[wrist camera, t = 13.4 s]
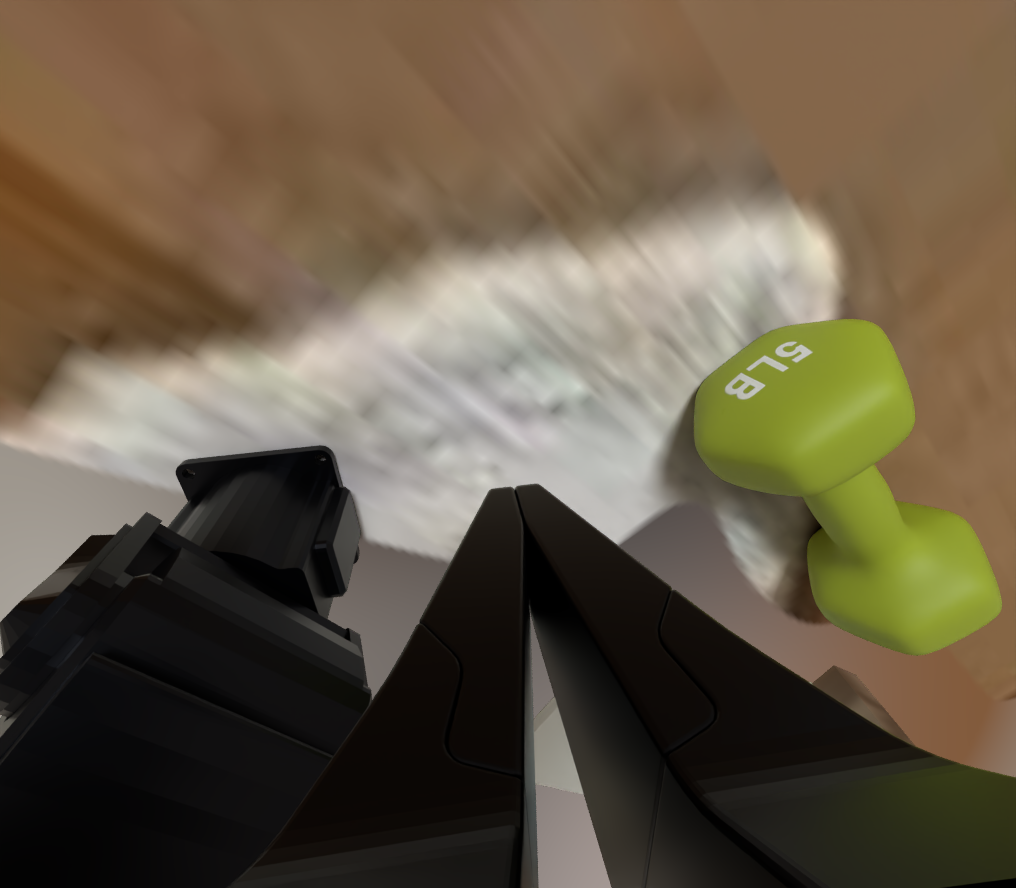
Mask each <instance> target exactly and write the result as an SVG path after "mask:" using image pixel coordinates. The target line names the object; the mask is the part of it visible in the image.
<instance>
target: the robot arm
mask: <svg viewBox="0 0 1016 888" xmlns="http://www.w3.org/2000/svg"><path fill="white" fill-rule="evenodd" d="M317 455H323V456H324V457H325V458H326V460H324V461H323V460H319V459H318V458H317V457H316V456H317ZM187 469H190V470H192V471H193V472H194V473H195V474H190V473H188V471H187ZM176 476H177V478H178V480H179V482H180V485H181V487H182V489H183V491H184V493H185V496H186V498H187V500H188V502H187V504H186V505H185V506H184V507H183V509H182V510H181V511H180V513H179V514H178V515H177V516H176V517H175V519H174V520H173V521H172V522H171V524H170V525H169V526H168V527H165V526H163V525H162V524H160V523H161V522H162V520H160V519H158V518H156V517H155V516H153V515H151V514H149V513H148V512H146V513H145V514H144V515H143V516H142V517H141V518H140V519H139V521H138V522H137V523H136V524H135V525H134V526H133V527H132V526H130V525H128V524H125V525H124V526H123V527H122V528H121V529H120V530H119V531H118V533H117V534H116V535H92V536H90V537H89V538H88V539H87V540H86V541H85V542H84V543H83V544H82V545H81V546H80V547H79V548H78V549H77V550H76V551H75V552H74V553H73V554H72V555H71V556H70V557H69V558H68V559H67V560H66V561H65V562H64V563H63V564H62V565H61V566H60V567H59V568H58V569H57V570H56V571H55V572H54V573H53V574H52V575H50V576H49V577H48V578H47V579H46V580H45V581H43V582H42V583H41V584H40V585H39V586H38V587H37V588H35V589H34V590H33V591H32V592H31V593H30V594H28V595H27V596H26V597H25V598H24V599H23V600H22V601H20V603H18V605H16V606H15V607H14V608H13V609H12V611H11V612H10V613H9V614H8V615H7V616H6V617H5V618H4V619H3V620H2V621H1V622H0V636H1V644H2V652H3V656H2V657H1V658H0V715H2V717H1V718H0V888H538V858H537V824H536V792H535V756H534V723H533V689H532V656H531V626H530V613H531V617H532V621H533V625H534V629H535V632H536V635H537V639H538V642H539V645H540V649H541V652H542V656H543V659H544V662H545V666H546V669H547V672H548V676H549V679H550V682H551V686H552V689H553V693H554V696H555V699H556V703H557V706H558V709H559V713H560V716H561V719H562V723H563V726H564V729H565V733H566V736H567V740H568V743H569V746H570V750H571V753H572V756H573V760H574V763H575V766H576V770H577V773H578V776H579V780H580V783H581V787H582V790H583V793H584V797H585V800H586V803H587V807H588V810H589V813H590V817H591V820H592V823H593V827H594V830H595V833H596V837H597V840H598V843H599V847H600V850H601V853H602V857H603V860H604V863H605V867H606V870H607V874H608V877H609V880H610V884H611V887H612V888H1016V777H1011V776H1007V775H1003V774H999V773H995V772H990V771H986V770H982V769H978V768H974V767H970V766H966V765H963V764H960V763H957V762H954V761H951V760H948V759H945V758H942V757H939V756H936V755H934V754H932V753H930V752H927V751H925V750H923V749H920V748H918V747H916V746H914V745H912V744H910V743H908V742H906V741H904V740H902V739H900V738H898V737H896V736H894V735H892V734H891V733H889V732H887V731H886V730H884V729H882V728H881V727H879V726H877V725H876V724H874V723H872V722H871V721H869V720H867V719H866V718H864V717H863V716H861V715H860V714H858V713H857V712H855V711H853V710H852V709H850V708H849V707H847V706H846V705H844V704H842V703H841V702H839V701H838V700H836V699H835V698H833V697H831V696H830V695H828V694H827V693H825V692H824V691H822V690H821V689H819V688H817V687H816V686H814V685H813V684H811V683H810V682H808V681H806V680H805V679H803V678H801V677H800V676H799V675H797V674H795V673H794V672H792V671H791V670H789V669H788V668H786V667H785V666H783V665H781V664H780V663H778V662H777V661H775V660H774V659H772V658H770V657H769V656H767V655H766V654H764V653H763V652H761V651H760V650H758V649H757V648H755V647H754V646H752V645H751V644H749V643H748V642H746V641H745V640H743V639H742V638H740V637H739V636H737V635H736V634H734V633H733V632H731V631H730V630H728V629H727V628H725V627H724V626H723V625H721V624H720V623H718V622H717V621H716V620H715V619H713V618H712V617H710V616H709V615H708V614H706V613H705V612H704V611H702V610H701V609H700V608H698V607H697V606H696V605H694V604H693V603H692V602H690V601H689V600H688V599H687V598H685V597H684V596H682V595H681V594H680V593H679V592H677V591H676V590H672V588H671V586H669V585H668V584H667V583H666V582H664V581H663V580H662V579H660V578H659V577H658V576H657V575H655V574H654V573H653V572H651V571H650V570H648V568H646V567H645V566H644V565H642V564H641V563H640V562H638V561H637V560H636V559H635V558H633V557H632V556H631V555H629V554H628V553H627V552H626V551H624V550H623V549H622V548H621V547H619V546H618V545H617V544H615V543H614V542H613V541H612V540H610V539H609V538H608V537H606V536H605V535H604V534H603V533H601V532H600V531H599V530H597V529H596V528H595V527H594V526H592V525H591V524H590V523H588V522H587V521H586V520H585V519H583V518H582V517H581V516H579V515H578V514H577V513H575V512H574V511H573V510H572V509H570V508H569V507H568V506H566V505H565V504H564V503H563V502H561V501H560V500H559V499H557V498H556V497H555V496H554V495H552V494H551V493H550V492H548V491H547V490H546V489H545V488H543V487H542V486H541V485H539V484H529V485H521V486H517V487H516V488H515V490H514V489H513V488H512V487H503V488H495V489H491V490H489V492H488V493H487V495H486V497H485V499H484V501H483V503H482V505H481V507H480V508H479V510H478V512H477V514H476V516H475V518H474V520H473V522H472V523H471V525H470V527H469V529H468V531H467V533H466V535H465V536H464V538H463V540H462V542H461V544H460V546H459V548H458V550H457V551H456V553H455V555H454V557H453V559H452V561H451V563H450V565H449V567H448V569H447V570H446V572H445V574H444V576H443V578H442V580H441V581H440V583H439V585H438V587H437V589H436V591H435V593H434V595H433V596H432V598H431V600H430V602H429V604H428V606H427V608H426V609H425V611H424V613H423V615H422V617H421V619H420V624H418V625H417V626H416V628H415V630H414V631H413V634H412V635H411V637H410V639H409V641H408V643H407V645H406V647H405V648H404V650H403V652H402V653H401V655H400V657H399V658H398V660H397V662H396V664H395V665H394V667H393V669H392V671H391V672H390V674H389V676H388V677H387V679H386V680H385V682H384V684H383V685H382V686H381V688H380V690H379V691H378V693H377V694H376V695H375V697H374V699H373V700H372V694H371V689H370V688H369V687H368V684H367V678H366V671H365V665H364V658H363V652H362V645H361V639H360V635H359V634H358V633H356V632H355V631H353V630H351V629H349V628H347V629H343V628H342V627H340V626H338V625H336V624H335V623H333V622H331V621H330V620H328V619H327V618H328V615H329V611H330V607H331V604H332V600H333V597H340V596H343V595H344V593H345V592H346V591H347V588H348V584H349V580H350V576H351V571H352V567H353V564H354V563H356V562H357V560H358V557H359V547H358V542H359V538H360V534H361V531H360V527H359V523H358V519H357V515H356V512H355V508H354V504H353V500H352V496H351V492H350V490H348V489H347V488H346V487H342V483H341V480H340V476H339V472H338V468H337V465H336V461H335V457H334V454H333V452H332V450H331V449H329V448H328V447H326V446H311V447H301V448H292V449H282V450H273V451H263V452H254V453H245V454H235V455H226V456H216V457H207V458H198V459H188V460H185V461H183V462H182V463H181V464H180V465H179V466H178V467H177V469H176ZM529 608H530V609H529Z"/></svg>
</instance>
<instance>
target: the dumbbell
mask: <svg viewBox="0 0 1016 888" xmlns="http://www.w3.org/2000/svg"><path fill="white" fill-rule="evenodd" d="M914 422H915V410H914V403H913V399H912V395H911V392H910V389H909V386H908V383H907V380H906V377H905V374H904V372H903V369H902V367H901V365H900V362H899V360H898V358H897V356H896V353H895V351H894V349H893V347H892V345H891V343H890V341H889V339H888V338H887V336H886V335H885V333H884V332H883V331H882V329H881V328H880V327H879V326H877V325H875V324H873V323H871V322H869V321H864V320H856V319H841V320H830V321H822V322H813V323H804V324H797V325H790V326H785V327H781V328H778V329H775V330H772V331H770V332H768V333H766V334H764V335H762V336H761V337H759V338H758V339H756V340H755V341H753V342H752V343H751V344H749V345H748V346H747V347H745V348H744V349H743V350H741V351H740V352H739V353H737V354H736V355H735V356H733V357H732V358H731V359H730V360H728V361H727V362H726V363H724V364H723V365H722V366H720V367H719V368H718V369H717V370H715V371H714V372H713V373H712V374H711V375H709V376H708V377H707V378H706V379H705V380H704V382H703V383H702V384H701V386H700V388H699V390H698V392H697V395H696V399H695V410H694V440H695V447H696V449H697V451H698V453H699V455H700V457H701V459H702V460H703V461H704V463H705V464H706V465H707V467H708V468H709V469H710V470H711V471H712V472H713V473H714V474H715V475H716V476H718V477H719V478H720V479H722V480H723V481H726V482H728V483H731V484H734V485H736V486H739V487H743V488H746V489H750V490H755V491H759V492H764V493H771V494H777V495H786V496H799V497H802V498H803V499H804V501H805V503H806V504H807V506H808V507H809V509H810V511H811V512H812V514H813V515H814V517H815V518H816V520H817V521H818V522H819V523H820V525H821V526H822V528H821V529H819V530H818V531H817V532H816V533H815V534H814V535H813V536H812V537H811V538H810V540H809V542H808V546H807V563H808V573H809V579H810V585H811V589H812V594H813V597H814V600H815V602H816V605H817V606H818V608H819V609H820V611H821V613H822V614H823V615H824V616H825V617H826V619H827V620H829V621H830V622H831V623H832V624H834V625H835V626H837V627H839V628H841V629H842V630H845V631H847V632H849V633H851V634H853V635H855V636H858V637H860V638H863V639H865V640H867V641H870V642H873V643H875V644H878V645H880V646H883V647H886V648H889V649H891V650H894V651H898V652H901V653H904V654H909V655H916V656H918V655H924V654H928V653H931V652H934V651H937V650H940V649H942V648H944V647H946V646H948V645H950V644H952V643H954V642H956V641H958V640H960V639H962V638H964V637H966V636H967V635H969V634H971V633H973V632H975V631H976V630H978V629H980V628H981V627H983V626H985V625H986V624H988V623H989V622H990V621H992V620H993V619H994V618H995V617H997V615H998V614H999V613H1000V611H1001V607H1002V601H1001V596H1000V591H999V588H998V585H997V582H996V579H995V576H994V573H993V571H992V568H991V566H990V563H989V561H988V559H987V556H986V554H985V552H984V550H983V547H982V545H981V543H980V541H979V539H978V537H977V535H976V534H975V532H974V530H973V529H972V527H971V526H970V525H969V523H968V522H967V521H966V520H964V519H963V518H962V517H960V516H959V515H957V514H954V513H952V512H950V511H946V510H942V509H938V508H934V507H929V506H924V505H918V504H913V503H906V502H900V501H895V500H894V498H893V495H892V493H891V491H890V489H889V487H888V485H887V483H886V482H885V480H884V479H883V477H882V475H881V474H880V473H879V471H878V470H877V468H876V467H875V465H874V464H875V463H876V462H878V461H879V460H880V459H882V458H883V457H884V456H886V455H887V454H888V453H890V452H891V451H892V450H893V449H895V448H896V447H897V446H898V445H899V444H901V443H902V442H903V441H904V440H905V439H906V438H907V436H908V435H909V434H910V432H911V430H912V428H913V425H914Z"/></svg>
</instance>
